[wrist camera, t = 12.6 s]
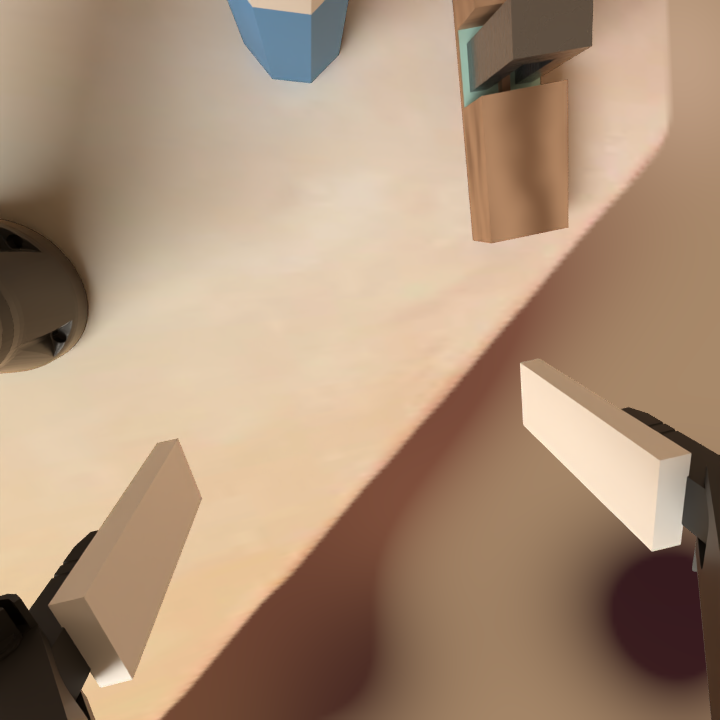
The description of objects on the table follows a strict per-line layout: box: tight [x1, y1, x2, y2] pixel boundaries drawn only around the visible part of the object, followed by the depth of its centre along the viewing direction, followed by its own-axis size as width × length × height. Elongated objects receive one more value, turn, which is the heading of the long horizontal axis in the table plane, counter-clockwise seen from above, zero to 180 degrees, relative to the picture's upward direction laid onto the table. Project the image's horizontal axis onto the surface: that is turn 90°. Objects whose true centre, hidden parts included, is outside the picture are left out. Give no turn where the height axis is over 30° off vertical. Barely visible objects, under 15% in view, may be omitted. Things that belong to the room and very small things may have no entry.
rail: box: [453, 0, 568, 243], centre depth 38 cm, size 8×28×5 cm, turn 11°
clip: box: [467, 0, 593, 93], centre depth 35 cm, size 6×4×9 cm, turn 100°
